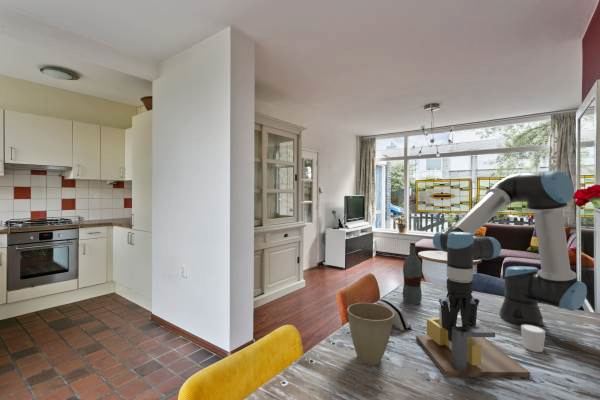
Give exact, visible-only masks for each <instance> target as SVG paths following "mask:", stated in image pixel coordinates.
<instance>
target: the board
mask: <svg viewBox="0 0 600 400" xmlns="http://www.w3.org/2000/svg"><path fill="white" fill-rule="evenodd" d="M470 338H472V339H473V340H475V341H476V342H478V343H479V344H481V345H482V352H481V365H471V364H469V363H468V362H467V371H456V370H455V369H454V368H453V367H452V365H451V355H452V350H451V349H449V347H448V346H446V345H439V344H438V343H436V342H435V341H434V340H433V339H431V338H430V337H429V336H428V335H416V337H415V339H416V342H417V343H418V344H419V345H420V346H421V348H422V349H423V350H424V351H425V353H426V354H427V355H428V356H429V357H430V359H431V360H432V361H433V363H434V364H435V365H436V367H438V368H439V370H440V371H441V372H442V374H443V375H444V376H445V377H455V378H456V377H458V378H459V377H464V378H466V377H469V378H470V377H472V378H473V377H477V378H479V377H480V378H481V377H482V378H483V377H484V378H486V377H487V378H530V377H531V372H530V371H529V370H528V369H526V368H525V367H524V366H522V365H521V364H520V363H519V362H517V361H516V360H514V359H513V358H512V357H511V356H509V355H508V354H507V353H506V352H504V351H503V350H501V349H500V348H499V347H498V346H496V345H495V344H494V343H492V342H491V341H490V340H488V339H487V337H470Z"/></svg>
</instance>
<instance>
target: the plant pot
mask: <svg viewBox="0 0 600 400" xmlns="http://www.w3.org/2000/svg"><path fill="white" fill-rule="evenodd" d="M347 318H348V325H349V330H350V336H351V340H352V342H353V343H352V344H353V347H354V350H355V354H356V356H357V359H358V360H359V362H361V363H362V364H365V365H368V366H376V365H379V364H380V363H381V361H382V359H383V357H384V355H385V352H386V349H387V346H388V343H389V340H390V336H391V333H392V329H393V318H394V313H393V311H392V310H391V309H389V308H387V307H385V306H382V305H378V304H376V303H372V302H357V303H353V304H350V305H348V307H347Z"/></svg>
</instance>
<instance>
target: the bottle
mask: <svg viewBox="0 0 600 400" xmlns="http://www.w3.org/2000/svg"><path fill="white" fill-rule="evenodd" d="M402 264H403V266H402V274H403V288H402V299H403V302H404V303H405V304H409V305H413V306H415V305H416V306H418V305H420V304H421V302H422V297H423V296H422V295H423V294H422V286H421V284H422V275H423V266H422V262H421V260H420V258H419V257H418V256H417V254H416V243H415V242H410V243H409V254H408V255H407V256H406V258H405V260H404V262H403V263H402Z"/></svg>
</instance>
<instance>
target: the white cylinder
mask: <svg viewBox="0 0 600 400" xmlns="http://www.w3.org/2000/svg"><path fill="white" fill-rule="evenodd" d="M520 330H521V331H520V332H521V333H520V334H521V343H522V344H521V345H522V346H523V348H524V349H525V350H526V349H527V350H529V351H531V352H535V353H542V352H543V351H544V345H545V339H546V332H547V331H546V330H545V329H544V328H542V327H541V326H538V327H537V326H533V325H526V324H524V325H520Z"/></svg>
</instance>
